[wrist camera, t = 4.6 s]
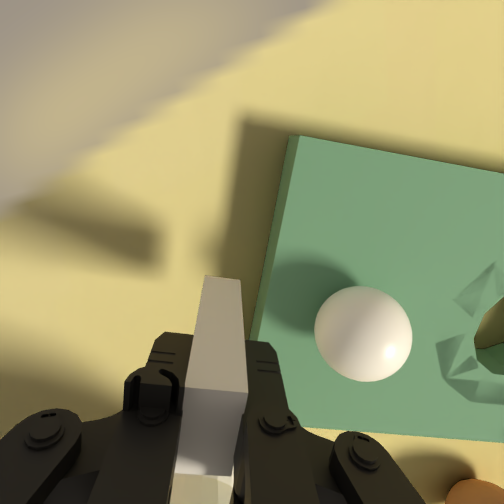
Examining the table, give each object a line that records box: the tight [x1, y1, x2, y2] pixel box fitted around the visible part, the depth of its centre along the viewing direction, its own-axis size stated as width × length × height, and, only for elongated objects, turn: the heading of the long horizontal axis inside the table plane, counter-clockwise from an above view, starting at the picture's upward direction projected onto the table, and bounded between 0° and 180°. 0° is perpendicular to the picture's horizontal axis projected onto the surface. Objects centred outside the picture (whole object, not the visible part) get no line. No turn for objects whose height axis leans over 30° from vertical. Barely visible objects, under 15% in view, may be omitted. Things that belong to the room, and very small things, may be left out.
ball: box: [314, 286, 412, 382], centre depth 14 cm, size 4×4×4 cm
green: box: [249, 135, 504, 443], centre depth 17 cm, size 20×15×6 cm
